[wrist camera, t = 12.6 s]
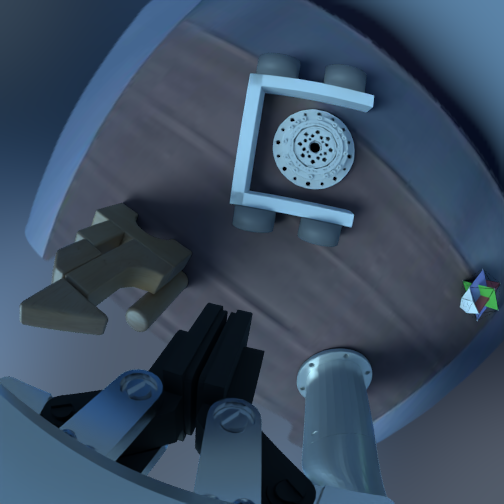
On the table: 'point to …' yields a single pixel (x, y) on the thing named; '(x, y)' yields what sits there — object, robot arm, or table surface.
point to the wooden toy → (108, 276)
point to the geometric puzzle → (479, 295)
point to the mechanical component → (289, 148)
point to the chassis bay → (264, 81)
